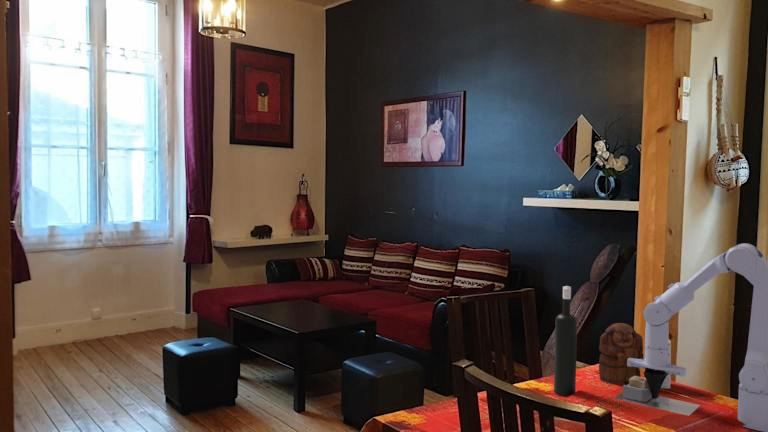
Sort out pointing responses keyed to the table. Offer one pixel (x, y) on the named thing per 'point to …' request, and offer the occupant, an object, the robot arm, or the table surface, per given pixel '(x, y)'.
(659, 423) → the table surface
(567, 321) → the wine bottle
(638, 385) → the block
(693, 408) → the base plate
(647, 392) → the housing slider
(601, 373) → the wooden figurine
